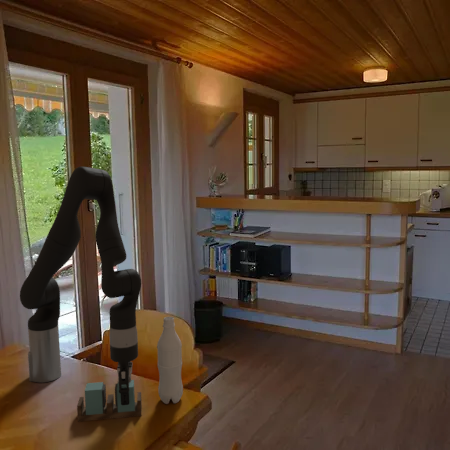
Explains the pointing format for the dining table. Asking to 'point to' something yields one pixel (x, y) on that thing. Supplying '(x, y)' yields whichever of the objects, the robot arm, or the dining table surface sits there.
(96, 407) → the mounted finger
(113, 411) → the rail
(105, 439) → the dining table surface
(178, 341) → the water bottle
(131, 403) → the teal block
